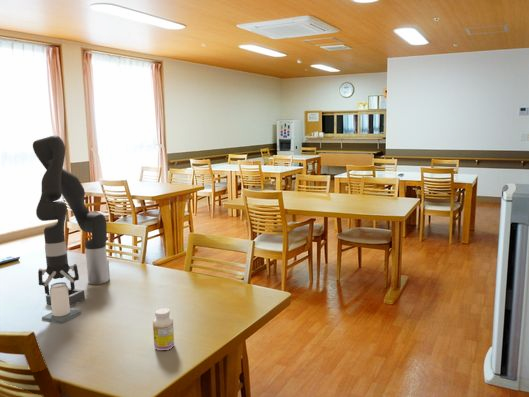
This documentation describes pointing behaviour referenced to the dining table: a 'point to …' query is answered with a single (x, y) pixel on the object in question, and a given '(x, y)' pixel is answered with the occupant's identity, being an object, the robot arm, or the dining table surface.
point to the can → (59, 299)
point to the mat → (61, 319)
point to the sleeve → (70, 296)
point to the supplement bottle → (163, 330)
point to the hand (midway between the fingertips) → (60, 292)
